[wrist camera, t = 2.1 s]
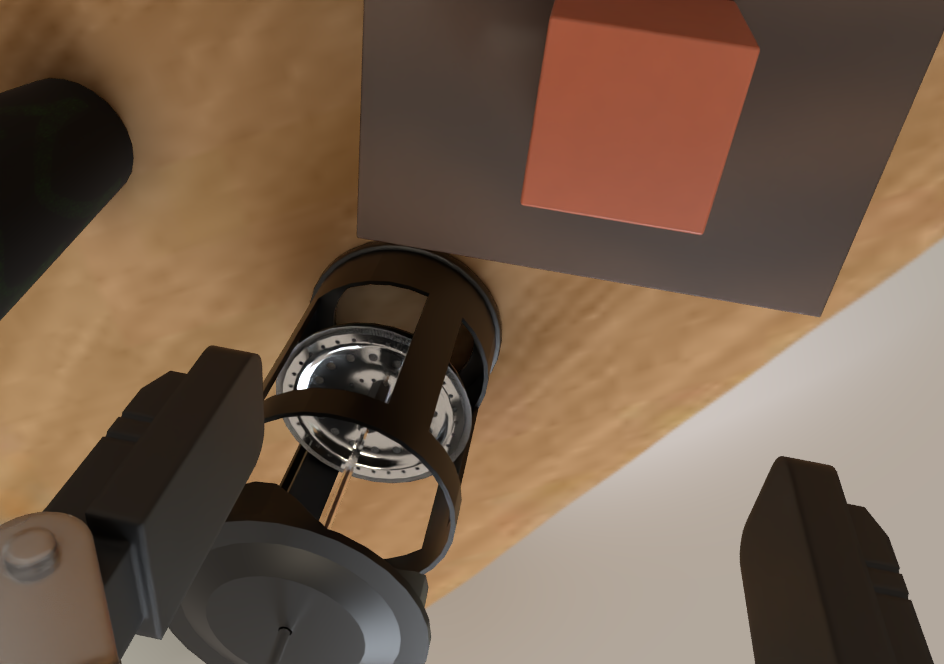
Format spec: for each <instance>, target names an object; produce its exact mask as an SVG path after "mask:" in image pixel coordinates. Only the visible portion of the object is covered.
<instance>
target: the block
mask: <svg viewBox="0 0 944 664" xmlns="http://www.w3.org/2000/svg"><path fill="white" fill-rule="evenodd" d="M759 53H760V47H759V45H758V44H757V42H756V40H755V38H754V36H753V34H752V32H751V31H750V29H749V27H748V25H747V23H746V21H745V19H744V17H743V16H742V14H741V12H740V10H739V8H738V6H737V4H736V3H735V2H734V1H729V0H555V1H554V5H553V8H552V11H551V15H550V18H549V23H548V30H547V36H546V42H545V49H544V55H543V61H542V68H541V74H540V80H539V87H538V93H537V99H536V105H535V112H534V118H533V124H532V131H531V137H530V143H529V150H528V156H527V162H526V169H525V175H524V181H523V188H522V194H521V200H520V202H521V205H524V206H530V207H536V208H542V209H548V210H554V211H560V212H566V213H572V214H578V215H583V216H589V217H595V218H601V219H607V220H613V221H619V222H625V223H631V224H637V225H643V226H649V227H655V228H661V229H667V230H673V231H679V232H685V233H691V234H697V235H702V234H703V233H704V231H705V227H706V224H707V221H708V218H709V214H710V211H711V208H712V205H713V202H714V198H715V195H716V192H717V189H718V185H719V182H720V179H721V176H722V172H723V169H724V166H725V163H726V159H727V156H728V153H729V150H730V147H731V143H732V140H733V137H734V134H735V130H736V127H737V124H738V121H739V117H740V114H741V111H742V108H743V104H744V101H745V98H746V95H747V92H748V88H749V85H750V82H751V79H752V75H753V72H754V69H755V66H756V62H757V59H758V56H759Z"/></svg>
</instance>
